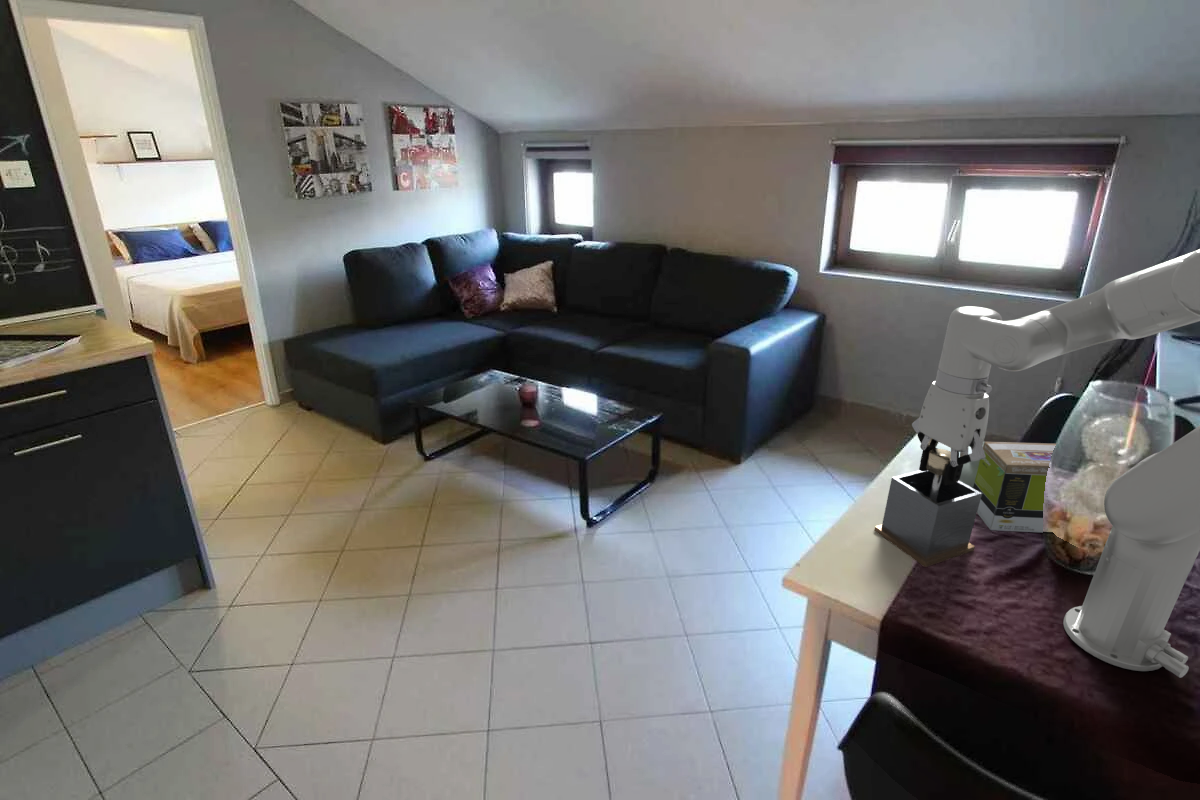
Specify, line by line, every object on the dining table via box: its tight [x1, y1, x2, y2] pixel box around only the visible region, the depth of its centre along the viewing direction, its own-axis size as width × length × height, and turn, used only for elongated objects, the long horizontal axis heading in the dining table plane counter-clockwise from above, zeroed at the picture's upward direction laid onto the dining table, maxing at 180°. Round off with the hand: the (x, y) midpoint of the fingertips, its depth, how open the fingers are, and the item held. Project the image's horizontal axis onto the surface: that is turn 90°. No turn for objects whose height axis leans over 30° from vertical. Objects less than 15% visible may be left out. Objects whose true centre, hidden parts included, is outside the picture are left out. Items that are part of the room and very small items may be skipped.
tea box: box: [973, 441, 1057, 533], centre depth 126 cm, size 15×10×15 cm, turn 84°
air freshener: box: [959, 441, 985, 488], centre depth 137 cm, size 11×8×10 cm
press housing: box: [873, 469, 982, 568], centre depth 120 cm, size 12×12×12 cm
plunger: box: [926, 448, 951, 501], centre depth 118 cm, size 8×8×17 cm
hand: (938, 475), depth 116 cm, fingers closed on plunger, 4 cm apart
